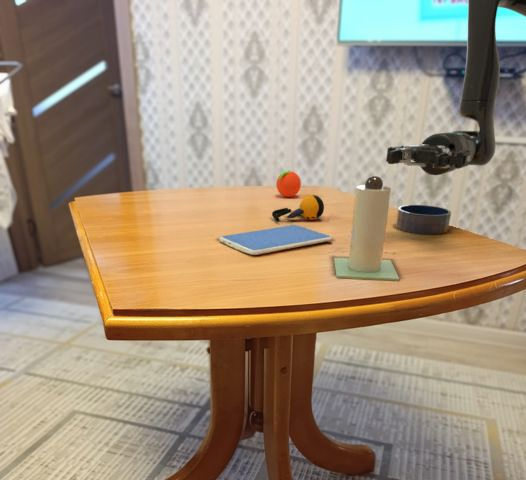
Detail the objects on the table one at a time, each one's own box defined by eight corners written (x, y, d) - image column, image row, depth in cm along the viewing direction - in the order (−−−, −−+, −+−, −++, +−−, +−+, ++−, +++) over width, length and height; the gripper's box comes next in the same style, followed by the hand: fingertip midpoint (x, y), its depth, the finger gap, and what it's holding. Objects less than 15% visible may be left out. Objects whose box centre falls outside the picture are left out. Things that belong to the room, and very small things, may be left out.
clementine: (288, 200, 139) (289, 173, 136) (268, 197, 143) (269, 170, 140) (305, 196, 145) (306, 170, 141) (285, 193, 149) (286, 168, 145)
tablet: (253, 257, 91) (253, 250, 90) (217, 241, 100) (217, 235, 99) (333, 243, 101) (334, 236, 100) (294, 229, 110) (295, 223, 109)
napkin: (390, 262, 90) (390, 260, 90) (399, 281, 81) (399, 278, 81) (333, 259, 91) (334, 257, 91) (336, 278, 82) (336, 275, 82)
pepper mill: (378, 263, 88) (390, 174, 81) (382, 273, 83) (394, 179, 77) (347, 261, 88) (356, 172, 82) (349, 271, 84) (358, 177, 77)
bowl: (440, 225, 116) (444, 205, 114) (452, 238, 106) (456, 216, 104) (392, 223, 117) (394, 203, 115) (399, 235, 107) (402, 214, 105)
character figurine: (284, 233, 114) (331, 213, 116) (275, 209, 113) (322, 189, 115) (272, 235, 124) (315, 217, 126) (263, 213, 122) (307, 195, 124)
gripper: (412, 130, 103) (377, 134, 91) (485, 134, 95) (457, 138, 84) (407, 169, 106) (373, 178, 95) (477, 176, 99) (449, 186, 87)
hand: (412, 159), depth 89 cm, fingers open, 8 cm apart
